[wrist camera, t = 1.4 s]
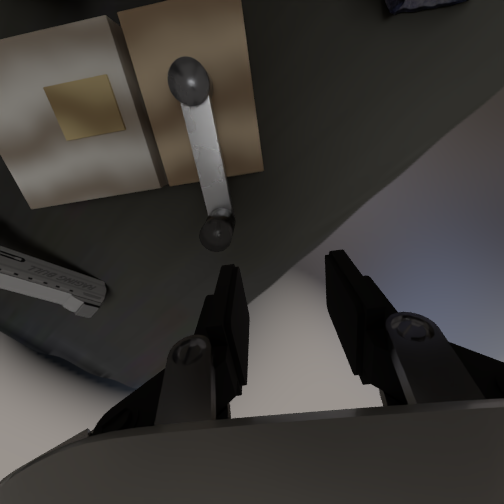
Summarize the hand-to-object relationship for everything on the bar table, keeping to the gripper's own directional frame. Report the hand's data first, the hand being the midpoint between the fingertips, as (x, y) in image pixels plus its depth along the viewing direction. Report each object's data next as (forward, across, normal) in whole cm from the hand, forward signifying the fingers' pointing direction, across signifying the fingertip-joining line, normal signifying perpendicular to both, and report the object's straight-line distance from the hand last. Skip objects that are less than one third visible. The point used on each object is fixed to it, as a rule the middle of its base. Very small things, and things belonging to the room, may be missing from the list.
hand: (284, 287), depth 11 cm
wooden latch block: (+21, +13, -10) cm, 27 cm away
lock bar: (+16, +5, -5) cm, 18 cm away
